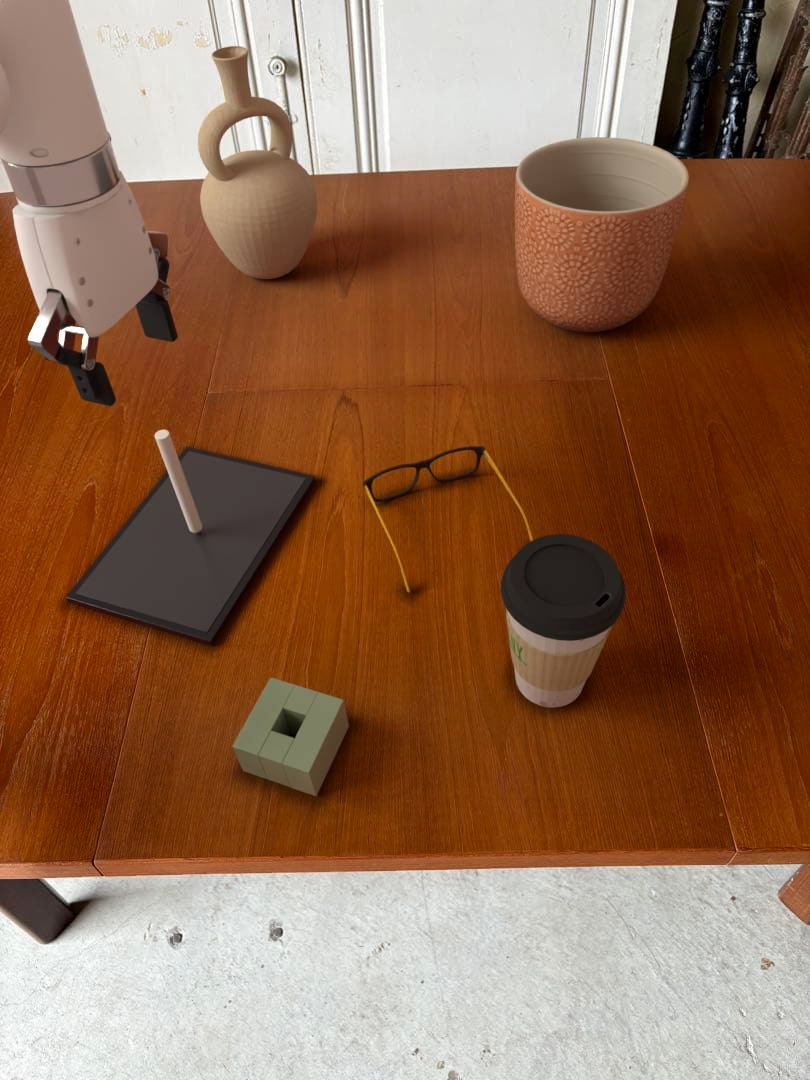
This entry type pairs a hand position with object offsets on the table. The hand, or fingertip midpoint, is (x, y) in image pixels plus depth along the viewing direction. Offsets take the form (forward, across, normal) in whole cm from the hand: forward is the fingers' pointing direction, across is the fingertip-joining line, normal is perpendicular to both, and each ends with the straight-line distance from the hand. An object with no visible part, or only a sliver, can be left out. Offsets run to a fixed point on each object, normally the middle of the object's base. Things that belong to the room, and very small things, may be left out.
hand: (132, 368), depth 71 cm
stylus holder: (+23, +18, +21) cm, 36 cm away
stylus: (+22, -1, 0) cm, 22 cm away
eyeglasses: (+23, -11, +25) cm, 36 cm away
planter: (+22, -56, +30) cm, 67 cm away
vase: (+22, -54, -18) cm, 61 cm away
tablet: (+23, -1, 0) cm, 23 cm away
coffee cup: (+23, +4, +40) cm, 47 cm away
